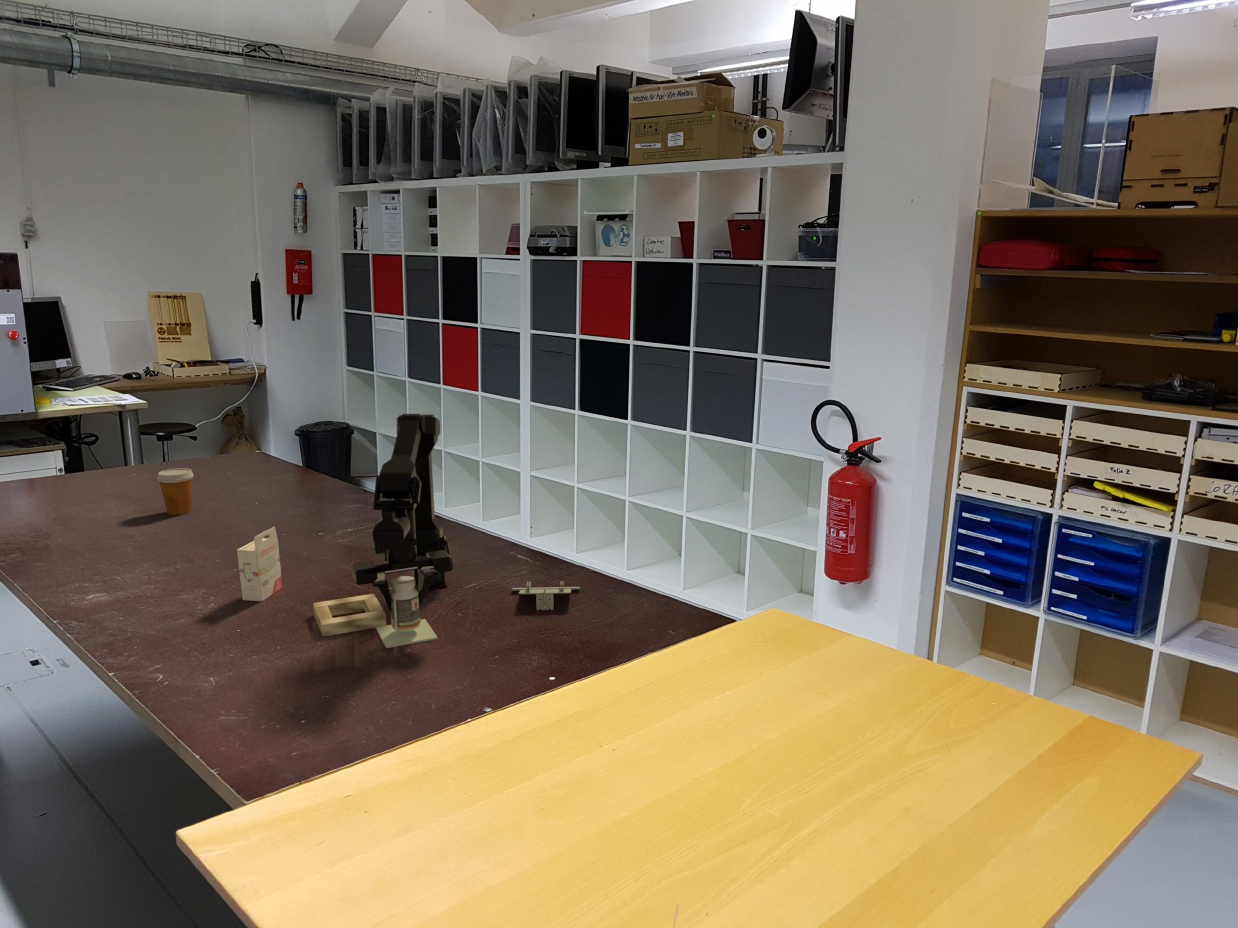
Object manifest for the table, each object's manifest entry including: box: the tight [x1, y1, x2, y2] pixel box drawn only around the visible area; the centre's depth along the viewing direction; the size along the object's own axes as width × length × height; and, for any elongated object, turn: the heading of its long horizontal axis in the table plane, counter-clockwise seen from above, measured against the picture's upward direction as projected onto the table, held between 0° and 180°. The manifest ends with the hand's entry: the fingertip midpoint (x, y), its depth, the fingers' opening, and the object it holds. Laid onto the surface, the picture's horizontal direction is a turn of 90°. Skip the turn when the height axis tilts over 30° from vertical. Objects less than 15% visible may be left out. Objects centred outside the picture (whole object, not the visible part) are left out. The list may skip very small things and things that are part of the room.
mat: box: [375, 618, 438, 649], centre depth 185 cm, size 10×10×1 cm
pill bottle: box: [389, 575, 421, 632], centre depth 183 cm, size 6×6×10 cm
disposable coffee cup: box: [156, 467, 194, 516], centre depth 266 cm, size 10×10×12 cm
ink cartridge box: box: [236, 526, 283, 602], centre depth 204 cm, size 9×5×15 cm, turn 168°
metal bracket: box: [511, 580, 581, 611], centre depth 203 cm, size 14×6×15 cm
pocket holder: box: [312, 593, 387, 637], centre depth 191 cm, size 12×12×2 cm
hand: (404, 607), depth 184 cm, fingers closed on pill bottle, 6 cm apart
